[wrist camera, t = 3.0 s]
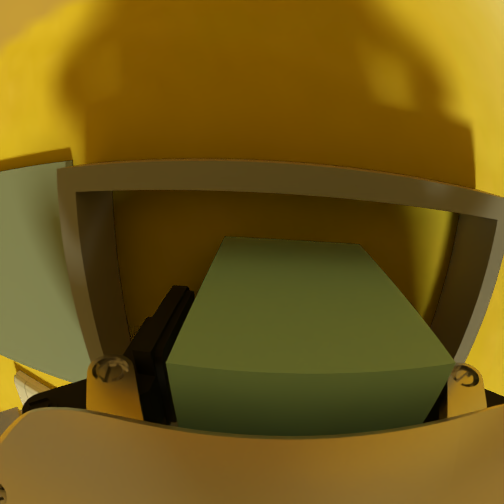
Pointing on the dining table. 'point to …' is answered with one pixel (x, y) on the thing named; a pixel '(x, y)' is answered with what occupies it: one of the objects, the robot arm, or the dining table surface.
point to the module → (302, 345)
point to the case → (269, 181)
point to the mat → (37, 277)
